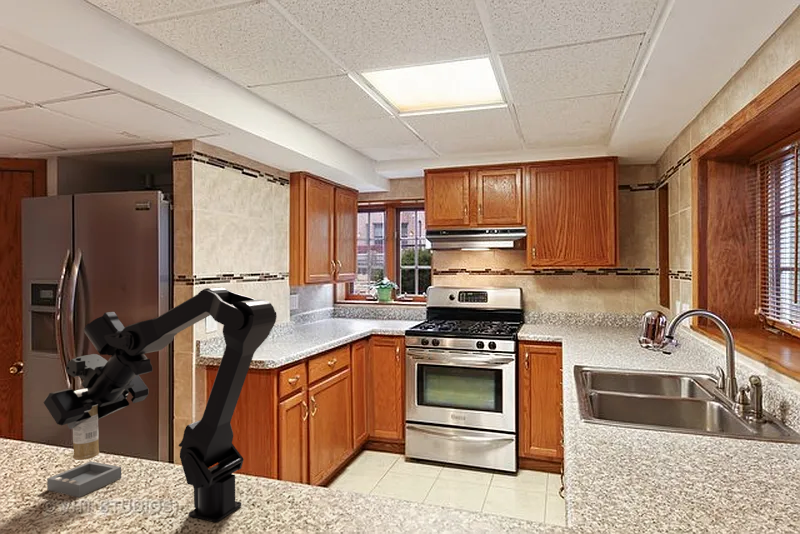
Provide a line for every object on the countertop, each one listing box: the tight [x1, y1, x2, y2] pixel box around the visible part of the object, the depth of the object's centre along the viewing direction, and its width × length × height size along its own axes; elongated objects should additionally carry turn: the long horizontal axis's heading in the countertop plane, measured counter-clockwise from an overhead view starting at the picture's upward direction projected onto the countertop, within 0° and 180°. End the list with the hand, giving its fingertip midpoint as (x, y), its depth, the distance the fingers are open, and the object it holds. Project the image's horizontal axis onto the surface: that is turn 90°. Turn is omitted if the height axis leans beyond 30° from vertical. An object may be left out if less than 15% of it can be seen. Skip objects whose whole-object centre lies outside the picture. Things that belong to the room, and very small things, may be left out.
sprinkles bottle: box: [72, 388, 100, 461], centre depth 99 cm, size 5×5×14 cm
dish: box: [46, 460, 122, 498], centre depth 99 cm, size 9×9×2 cm
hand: (80, 423), depth 99 cm, fingers closed on sprinkles bottle, 4 cm apart
